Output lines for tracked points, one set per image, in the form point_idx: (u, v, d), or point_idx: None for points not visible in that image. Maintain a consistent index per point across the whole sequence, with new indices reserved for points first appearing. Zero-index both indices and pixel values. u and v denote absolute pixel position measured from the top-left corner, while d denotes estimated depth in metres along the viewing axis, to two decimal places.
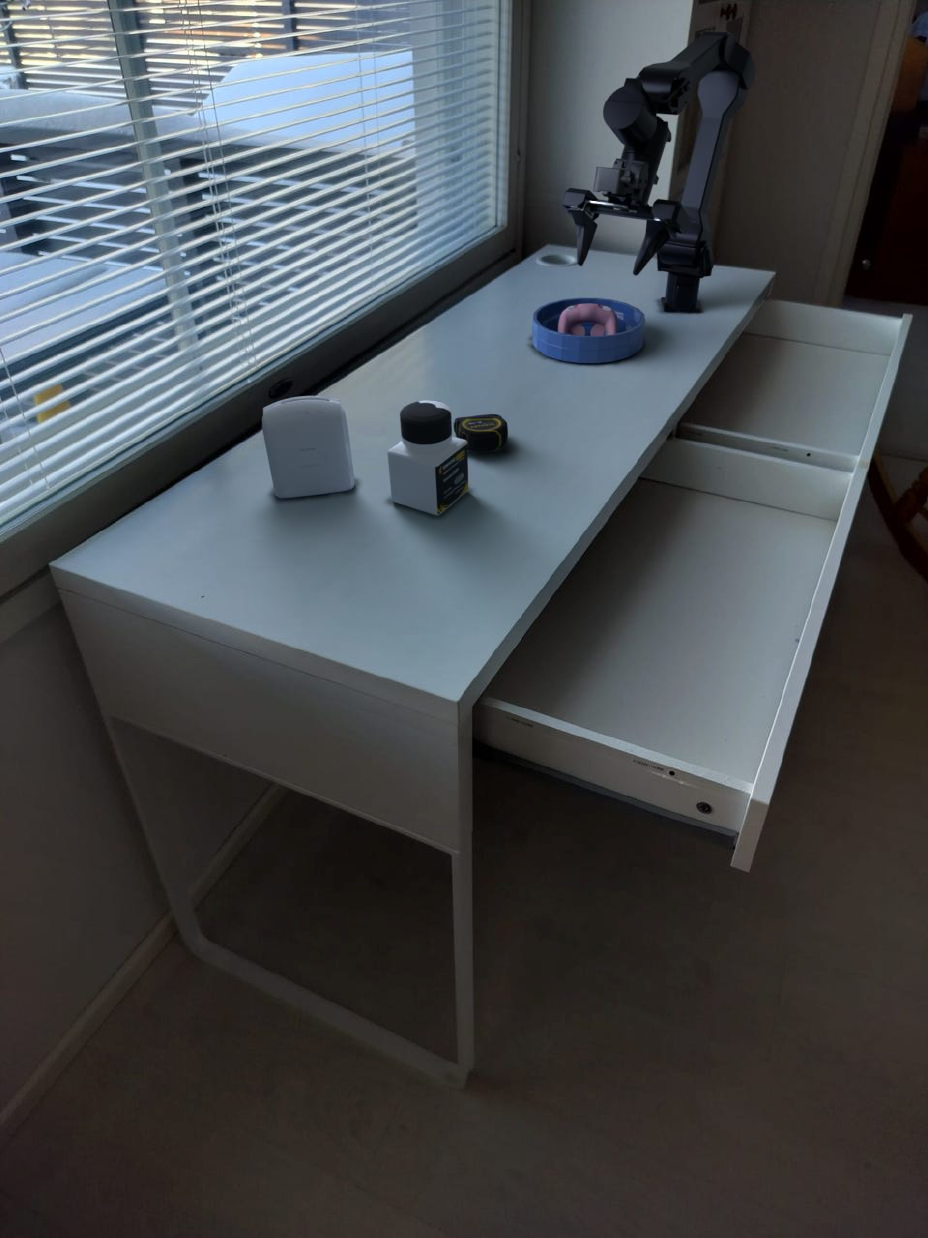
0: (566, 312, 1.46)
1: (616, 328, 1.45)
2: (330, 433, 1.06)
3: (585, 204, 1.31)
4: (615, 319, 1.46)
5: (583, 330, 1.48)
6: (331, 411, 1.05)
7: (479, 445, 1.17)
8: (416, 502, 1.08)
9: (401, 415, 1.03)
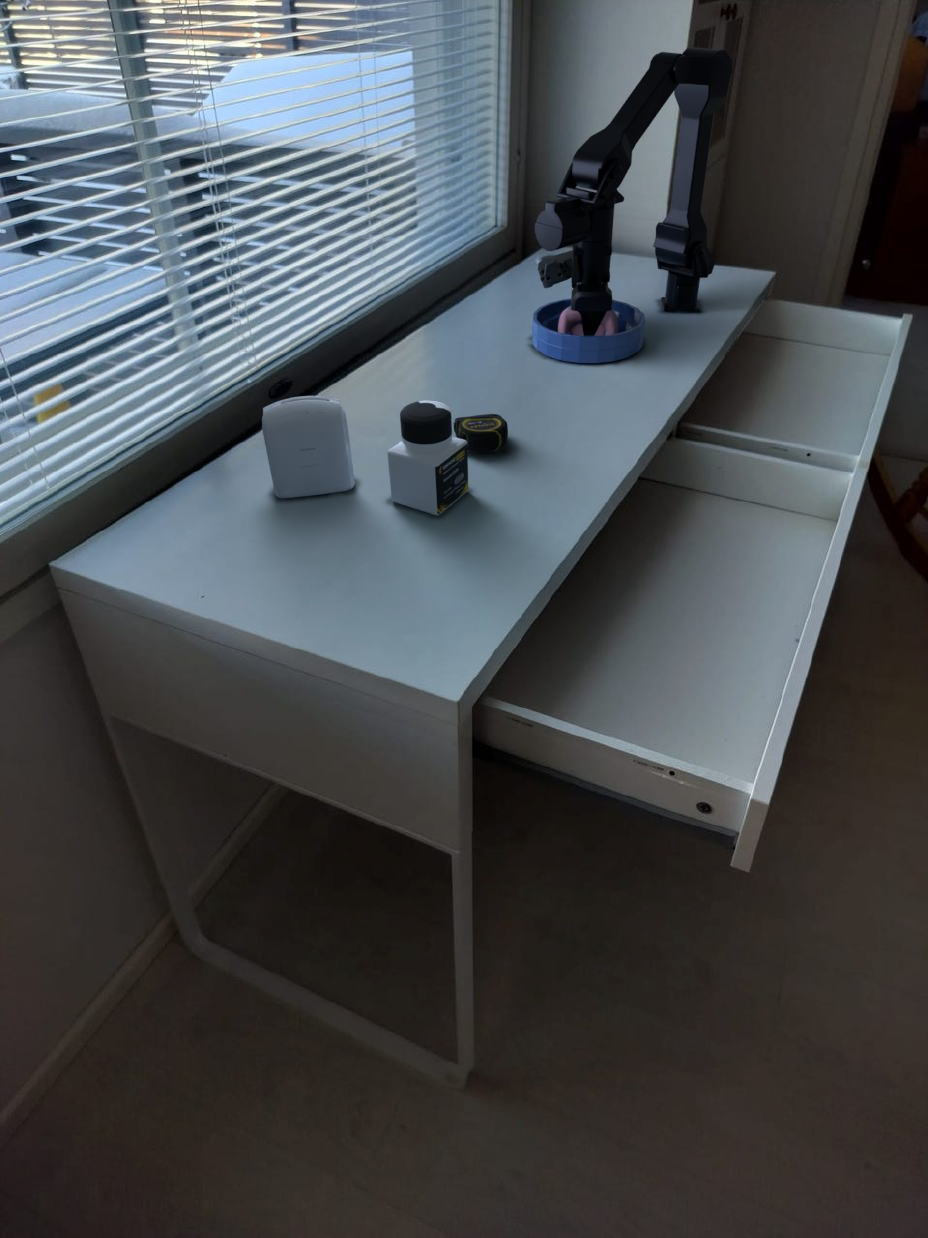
0: (566, 312, 1.46)
1: (616, 328, 1.45)
2: (330, 433, 1.06)
3: None
4: (615, 319, 1.46)
5: None
6: (331, 411, 1.05)
7: (479, 445, 1.17)
8: (416, 502, 1.08)
9: (401, 415, 1.03)
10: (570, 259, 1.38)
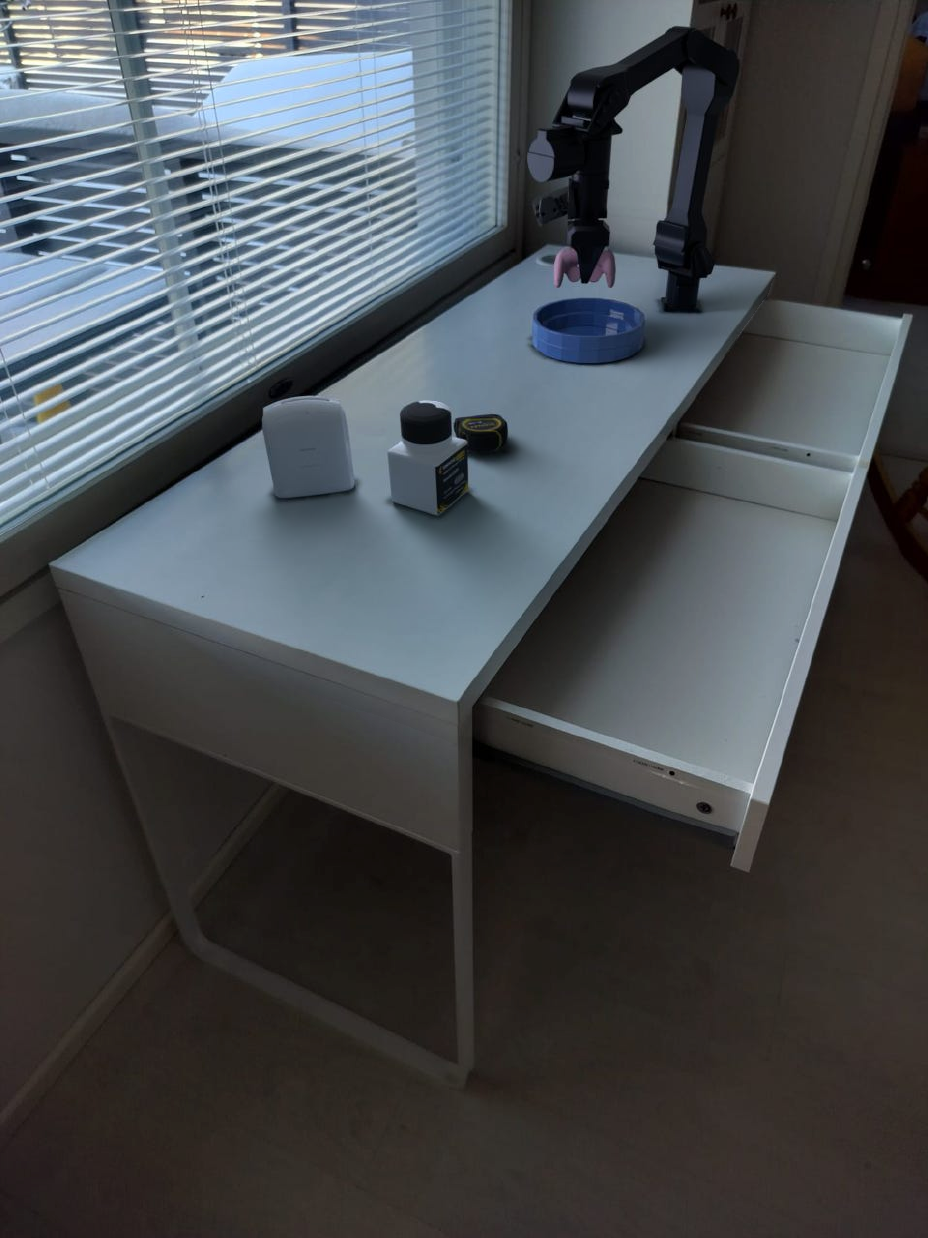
0: (562, 252, 1.41)
1: (614, 269, 1.40)
2: (330, 433, 1.06)
3: None
4: (613, 259, 1.40)
5: (579, 272, 1.42)
6: (331, 411, 1.05)
7: (479, 445, 1.17)
8: (416, 502, 1.08)
9: (401, 415, 1.03)
10: (566, 194, 1.33)
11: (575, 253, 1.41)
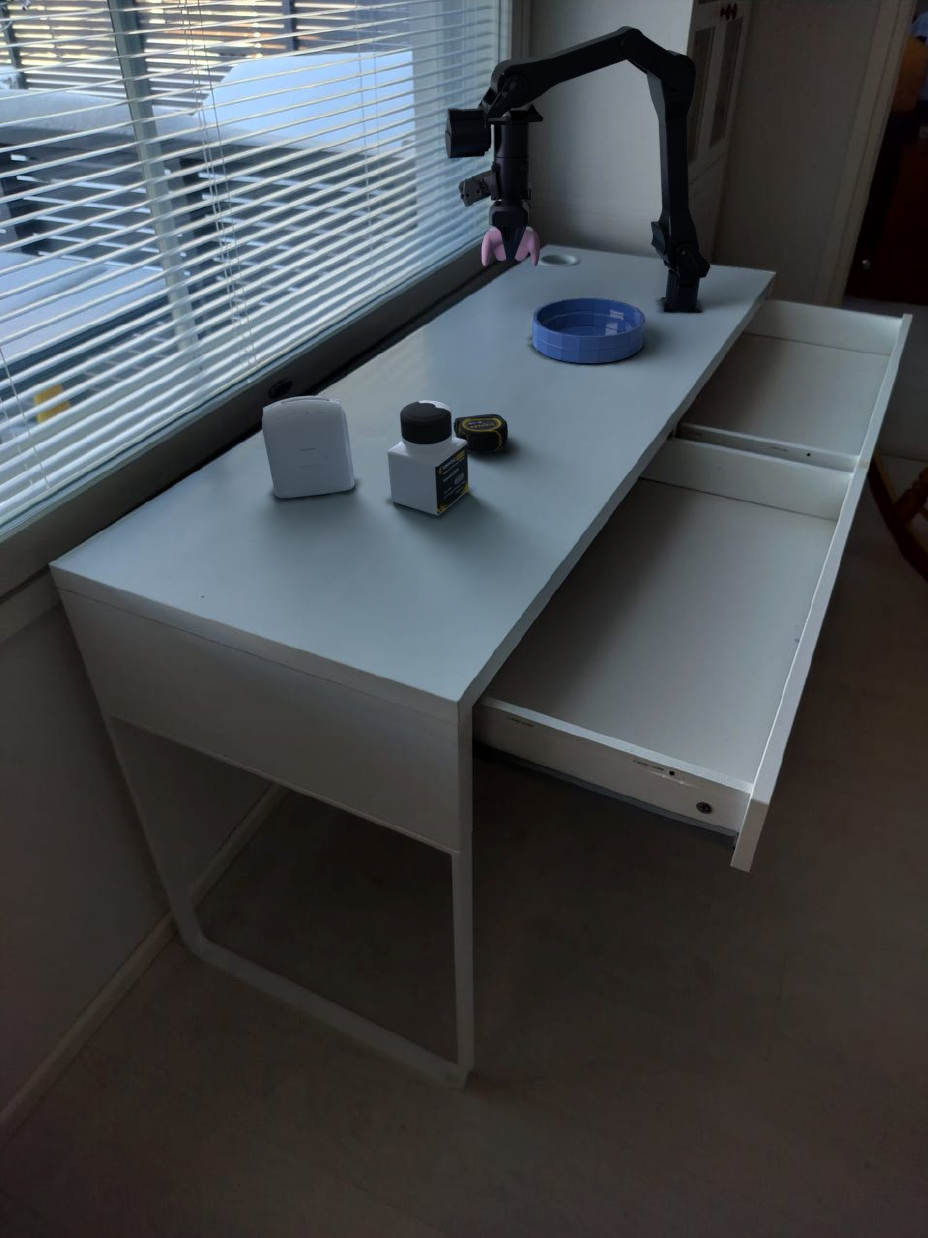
0: (489, 232, 1.49)
1: (538, 248, 1.48)
2: (330, 433, 1.06)
3: None
4: (537, 239, 1.48)
5: None
6: (331, 411, 1.05)
7: (479, 445, 1.17)
8: (416, 502, 1.08)
9: (401, 415, 1.03)
10: (489, 176, 1.41)
11: None
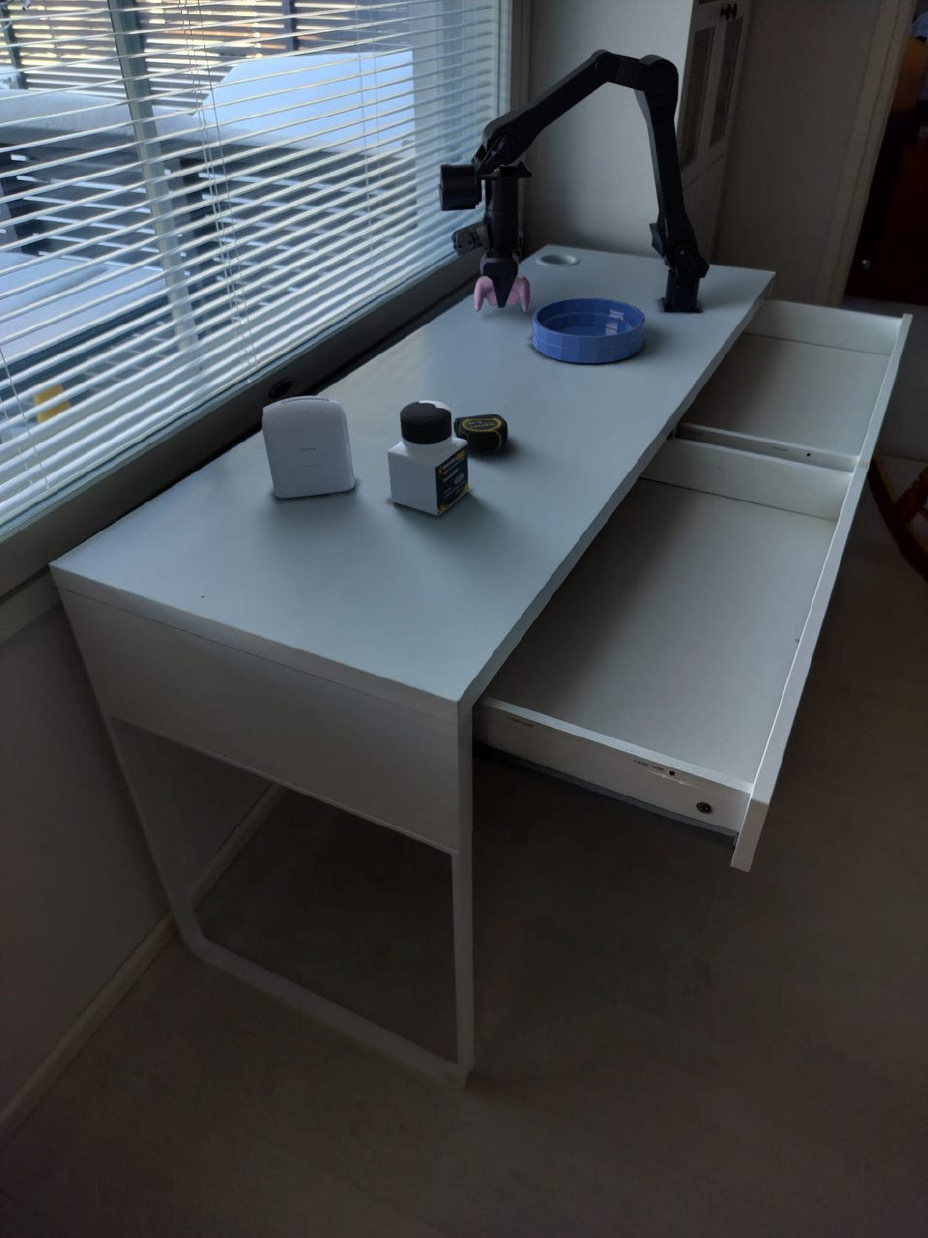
0: (481, 279, 1.55)
1: (528, 294, 1.54)
2: (330, 433, 1.06)
3: None
4: (527, 286, 1.54)
5: None
6: (331, 411, 1.05)
7: (479, 445, 1.17)
8: (416, 502, 1.08)
9: (401, 415, 1.03)
10: (480, 228, 1.47)
11: None
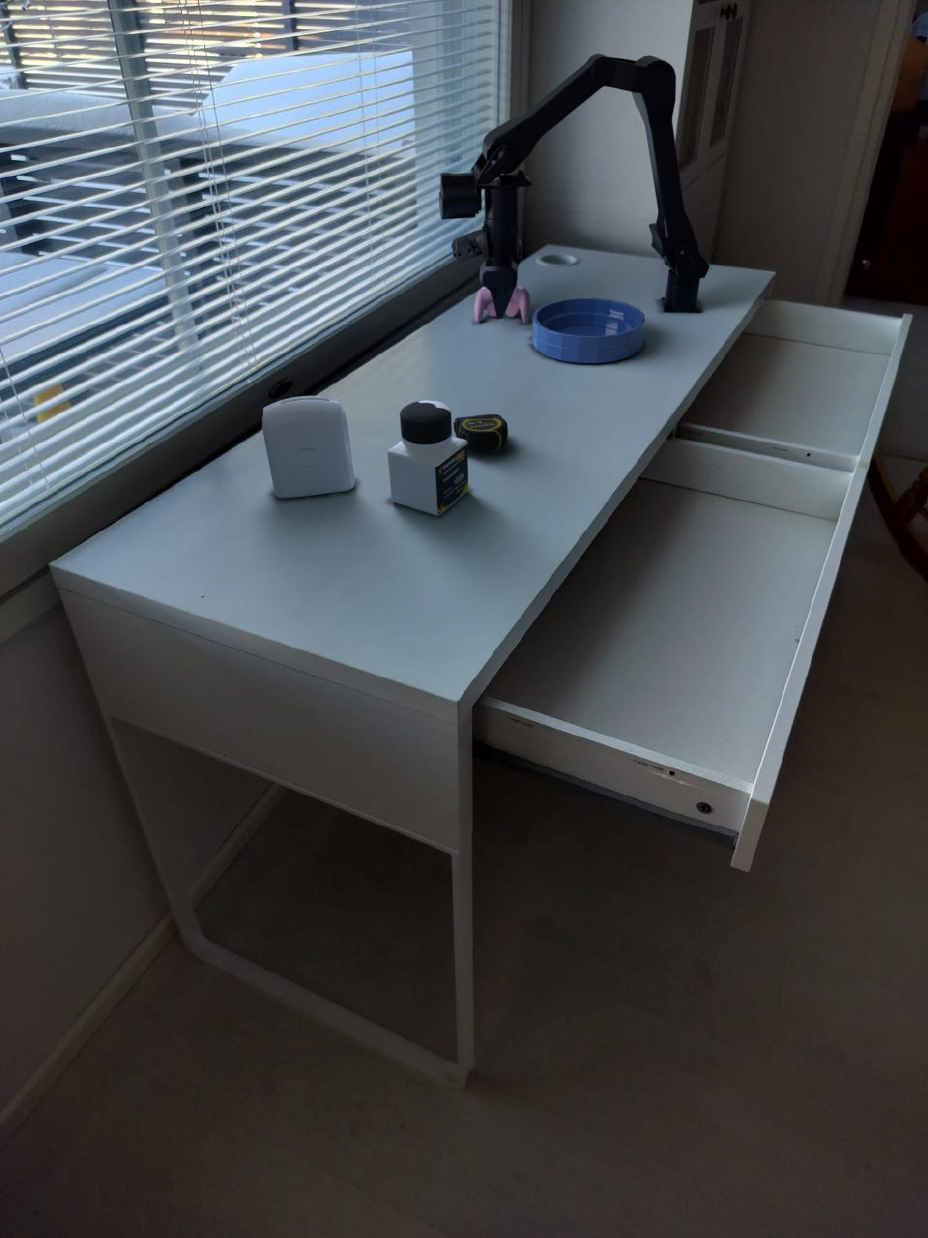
0: (481, 291, 1.56)
1: (528, 306, 1.55)
2: (330, 433, 1.06)
3: None
4: (527, 297, 1.56)
5: None
6: (331, 411, 1.05)
7: (479, 445, 1.17)
8: (416, 502, 1.08)
9: (401, 415, 1.03)
10: (480, 236, 1.48)
11: None
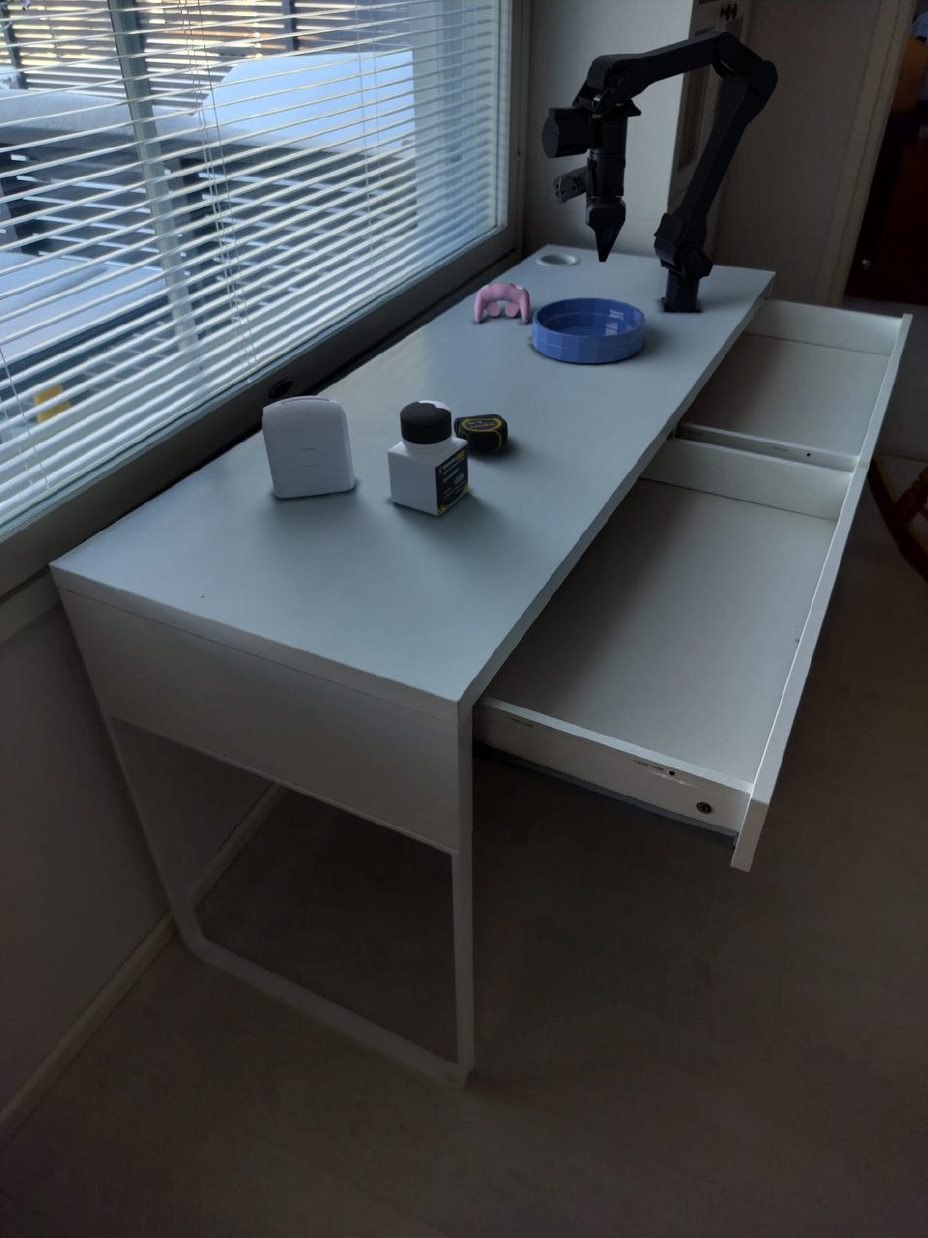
0: (481, 291, 1.56)
1: (528, 306, 1.55)
2: (330, 433, 1.06)
3: None
4: (527, 297, 1.56)
5: (498, 308, 1.58)
6: (331, 411, 1.05)
7: (479, 445, 1.17)
8: (416, 502, 1.08)
9: (401, 415, 1.03)
10: (584, 173, 1.40)
11: (493, 291, 1.56)
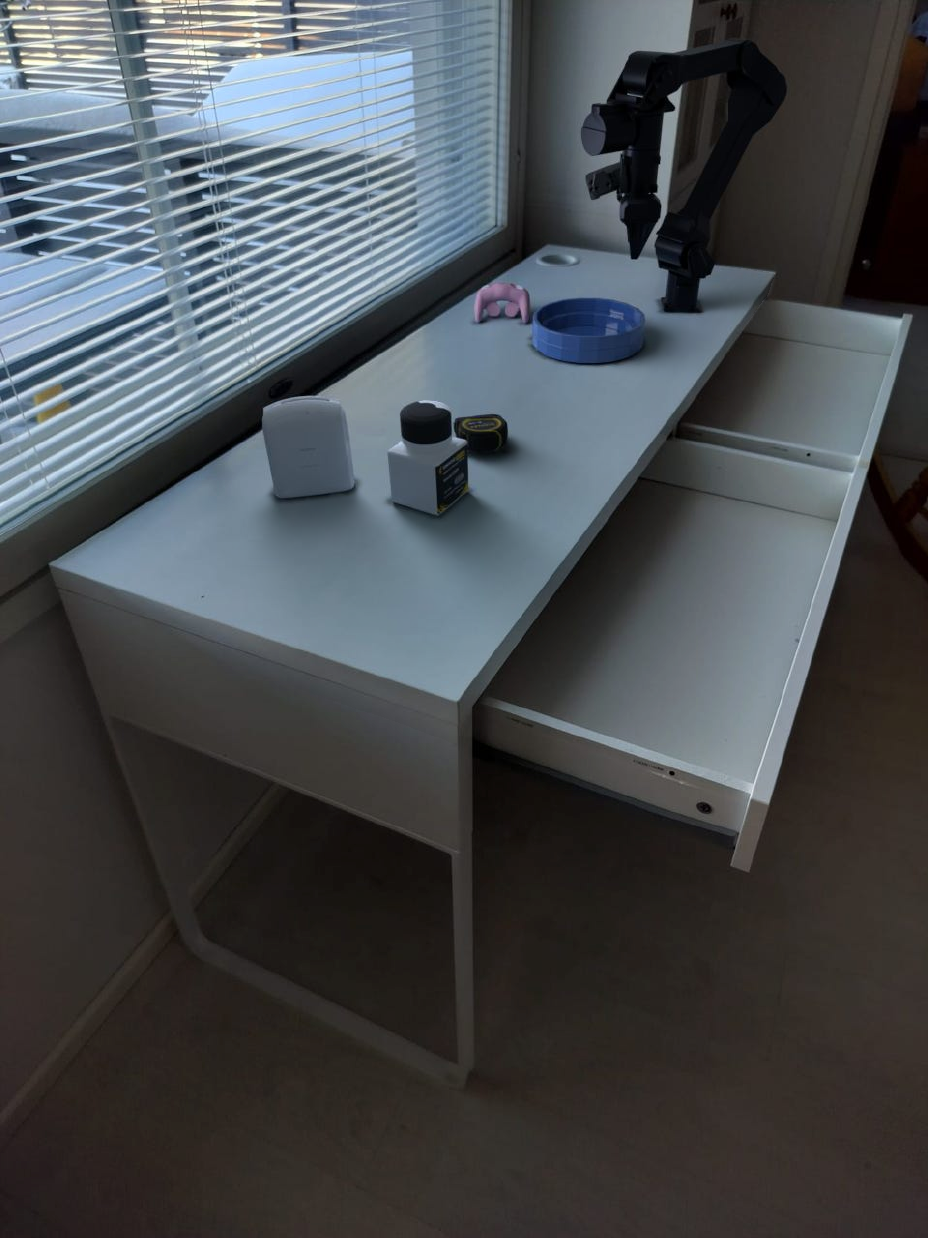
0: (481, 291, 1.56)
1: (528, 306, 1.55)
2: (330, 433, 1.06)
3: None
4: (527, 297, 1.56)
5: (498, 308, 1.58)
6: (331, 411, 1.05)
7: (479, 445, 1.17)
8: (416, 502, 1.08)
9: (401, 415, 1.03)
10: (618, 169, 1.39)
11: (493, 291, 1.56)
